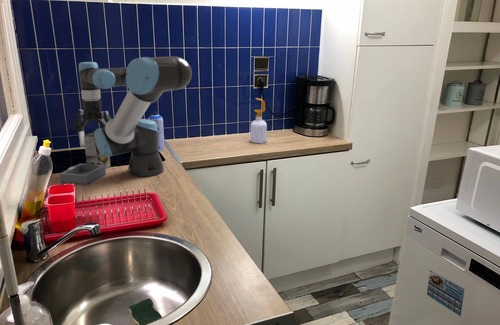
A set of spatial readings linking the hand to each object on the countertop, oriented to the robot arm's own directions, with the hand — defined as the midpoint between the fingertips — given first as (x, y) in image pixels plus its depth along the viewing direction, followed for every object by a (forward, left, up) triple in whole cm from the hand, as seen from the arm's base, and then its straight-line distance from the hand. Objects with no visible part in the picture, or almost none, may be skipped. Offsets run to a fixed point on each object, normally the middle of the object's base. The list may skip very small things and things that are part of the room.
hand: (96, 147), depth 181 cm
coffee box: (0, 0, -10) cm, 10 cm away
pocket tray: (-1, +13, -10) cm, 17 cm away
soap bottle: (-60, -65, -10) cm, 89 cm away
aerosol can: (-12, -35, -10) cm, 38 cm away
